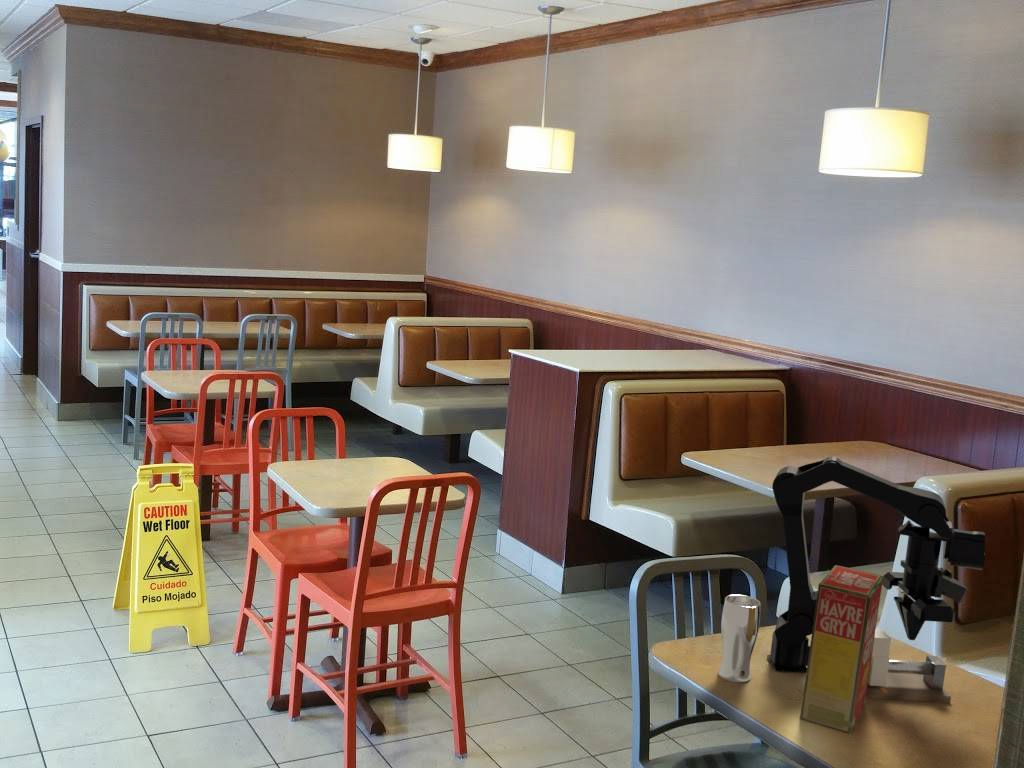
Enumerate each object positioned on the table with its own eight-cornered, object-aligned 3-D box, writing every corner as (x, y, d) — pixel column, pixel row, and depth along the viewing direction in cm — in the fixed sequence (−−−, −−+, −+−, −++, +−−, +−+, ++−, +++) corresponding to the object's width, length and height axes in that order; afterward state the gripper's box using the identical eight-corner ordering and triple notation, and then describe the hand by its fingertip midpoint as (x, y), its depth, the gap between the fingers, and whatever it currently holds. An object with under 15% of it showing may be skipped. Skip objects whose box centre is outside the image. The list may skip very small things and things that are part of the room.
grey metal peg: (853, 685, 192) (856, 660, 191) (846, 675, 196) (849, 651, 195) (942, 690, 193) (946, 665, 192) (933, 680, 197) (936, 656, 196)
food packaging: (852, 735, 175) (871, 596, 171) (797, 719, 180) (814, 582, 176) (867, 706, 187) (885, 574, 183) (815, 691, 191) (831, 563, 187)
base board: (854, 697, 190) (855, 690, 190) (838, 675, 199) (839, 669, 199) (950, 702, 191) (951, 695, 190) (929, 680, 200) (930, 674, 199)
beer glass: (750, 669, 199) (759, 596, 196) (755, 685, 192) (764, 609, 189) (714, 666, 199) (722, 592, 197) (717, 681, 192) (726, 605, 190)
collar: (870, 685, 191) (876, 638, 190) (859, 672, 197) (865, 627, 195) (885, 686, 192) (892, 639, 190) (874, 673, 197) (880, 627, 196)
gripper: (989, 579, 182) (976, 662, 184) (942, 546, 200) (931, 622, 203) (927, 576, 181) (915, 659, 184) (886, 543, 200) (876, 619, 202)
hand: (911, 639), depth 193 cm, fingers closed
